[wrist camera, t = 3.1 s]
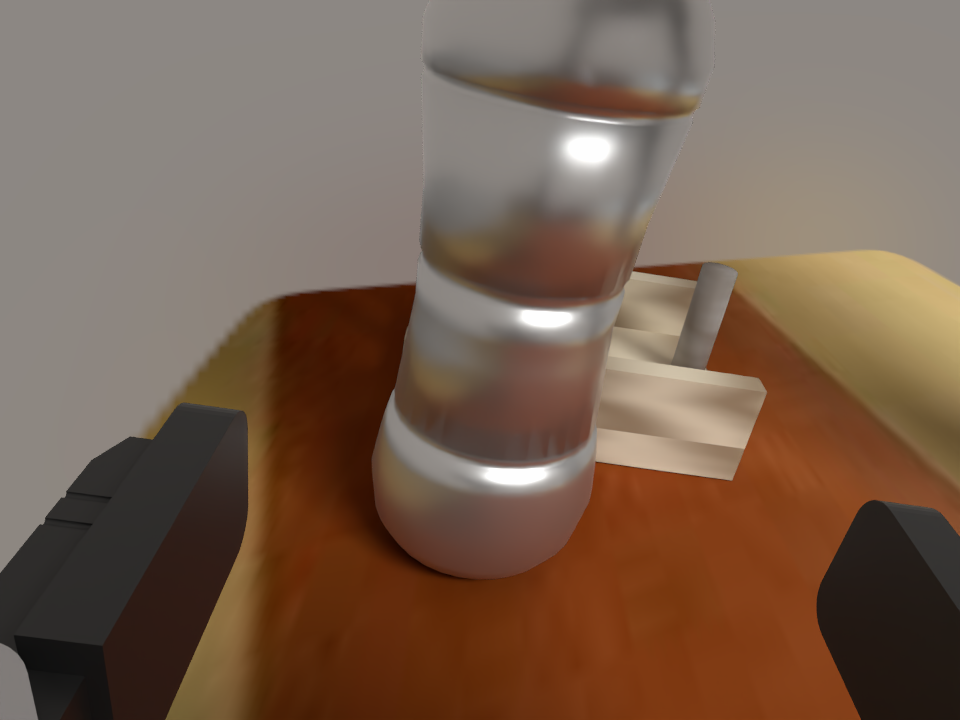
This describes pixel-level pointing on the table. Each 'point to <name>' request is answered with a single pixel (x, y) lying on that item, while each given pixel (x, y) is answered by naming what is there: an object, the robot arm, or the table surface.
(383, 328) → the table surface
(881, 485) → the table surface
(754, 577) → the table surface
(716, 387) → the caddy
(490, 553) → the plastic bottle
